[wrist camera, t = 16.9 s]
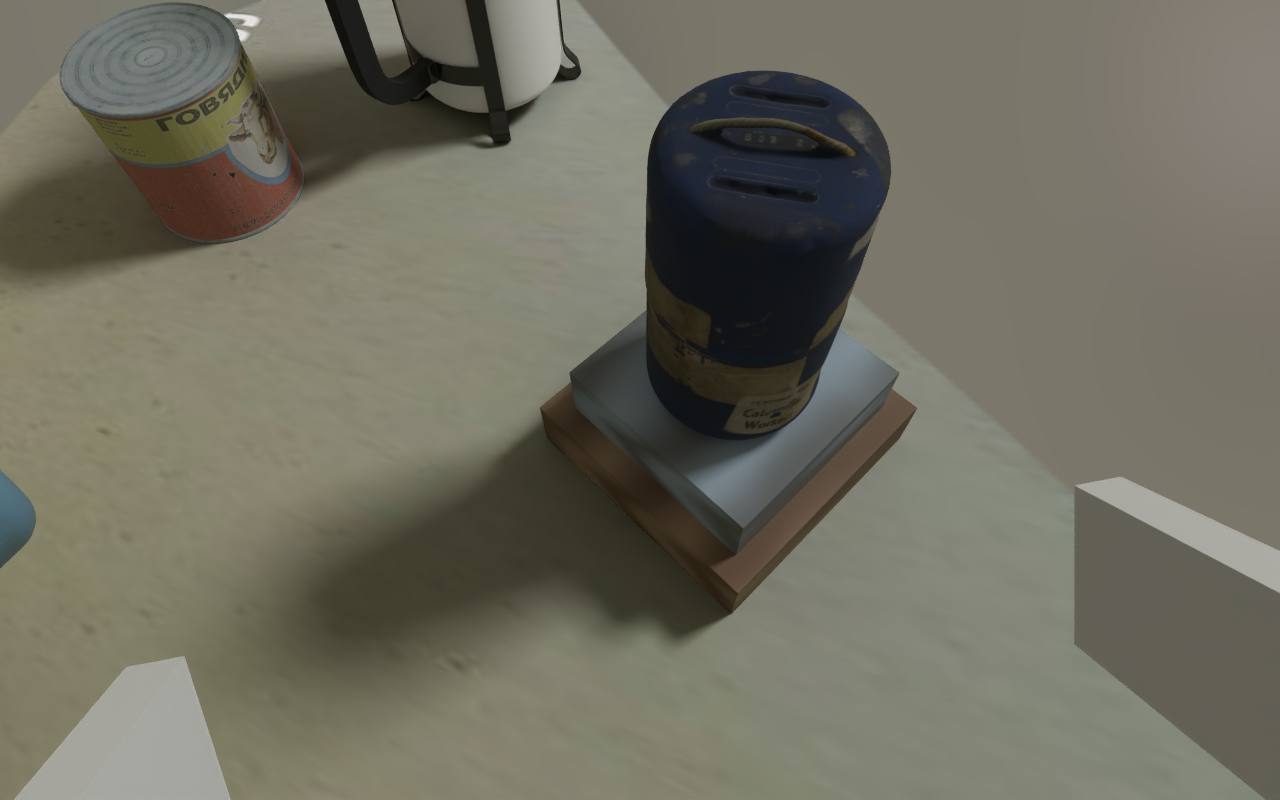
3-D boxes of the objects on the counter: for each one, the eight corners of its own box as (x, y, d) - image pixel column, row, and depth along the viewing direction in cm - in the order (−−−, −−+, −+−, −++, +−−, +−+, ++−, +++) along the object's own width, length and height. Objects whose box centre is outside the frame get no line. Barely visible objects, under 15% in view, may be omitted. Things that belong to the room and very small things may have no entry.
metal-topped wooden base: (547, 437, 52) (531, 372, 45) (715, 296, 58) (724, 219, 51) (731, 613, 47) (745, 569, 40) (899, 438, 52) (937, 373, 45)
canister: (689, 283, 48) (709, 6, 33) (840, 341, 46) (939, 75, 31) (615, 409, 44) (598, 160, 29) (779, 479, 42) (856, 251, 26)
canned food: (275, 250, 60) (198, 122, 50) (132, 236, 61) (26, 107, 51) (324, 143, 66) (263, 8, 56) (191, 131, 67) (107, -4, 56)
